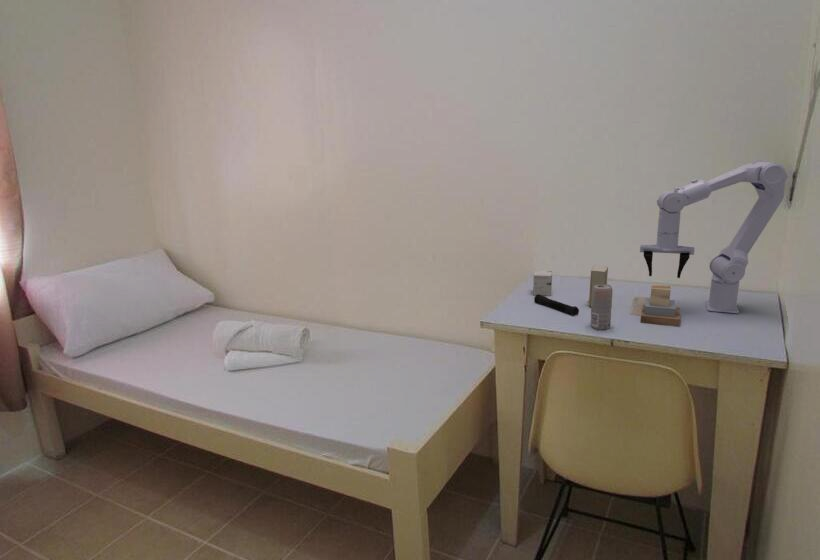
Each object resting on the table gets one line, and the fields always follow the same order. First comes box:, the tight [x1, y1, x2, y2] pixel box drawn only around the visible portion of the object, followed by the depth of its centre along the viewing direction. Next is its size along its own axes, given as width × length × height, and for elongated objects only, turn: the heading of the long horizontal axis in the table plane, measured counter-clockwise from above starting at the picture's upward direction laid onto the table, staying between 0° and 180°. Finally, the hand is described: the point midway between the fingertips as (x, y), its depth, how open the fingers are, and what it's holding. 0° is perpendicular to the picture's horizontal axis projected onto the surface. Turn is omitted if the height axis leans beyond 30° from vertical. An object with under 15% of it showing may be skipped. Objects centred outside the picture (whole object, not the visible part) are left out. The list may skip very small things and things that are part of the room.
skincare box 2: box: [588, 265, 609, 307], centre depth 165 cm, size 6×4×12 cm
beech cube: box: [649, 283, 672, 307], centre depth 151 cm, size 5×5×5 cm
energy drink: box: [590, 283, 613, 330], centre depth 147 cm, size 5×5×12 cm
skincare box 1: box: [532, 270, 553, 297], centre depth 180 cm, size 6×6×7 cm
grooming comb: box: [629, 296, 649, 317], centre depth 163 cm, size 18×10×1 cm, turn 149°
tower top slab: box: [644, 297, 677, 317], centre depth 152 cm, size 8×8×2 cm
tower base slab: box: [640, 305, 681, 327], centre depth 152 cm, size 10×10×2 cm
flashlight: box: [533, 294, 580, 316], centre depth 165 cm, size 3×16×3 cm, turn 30°
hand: (664, 276), depth 158 cm, fingers open, 7 cm apart
